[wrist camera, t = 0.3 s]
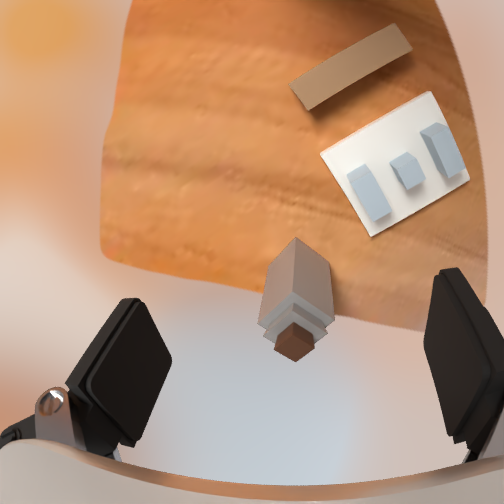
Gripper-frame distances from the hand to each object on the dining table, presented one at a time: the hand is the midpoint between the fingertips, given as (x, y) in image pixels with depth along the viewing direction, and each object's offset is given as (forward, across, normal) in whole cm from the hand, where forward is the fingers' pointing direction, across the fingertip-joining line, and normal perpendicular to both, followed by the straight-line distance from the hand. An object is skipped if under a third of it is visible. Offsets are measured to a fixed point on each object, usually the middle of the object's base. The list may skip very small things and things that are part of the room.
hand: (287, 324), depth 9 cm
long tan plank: (+35, -8, -9) cm, 37 cm away
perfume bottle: (+35, +3, +19) cm, 40 cm away
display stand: (+35, -14, +5) cm, 38 cm away
